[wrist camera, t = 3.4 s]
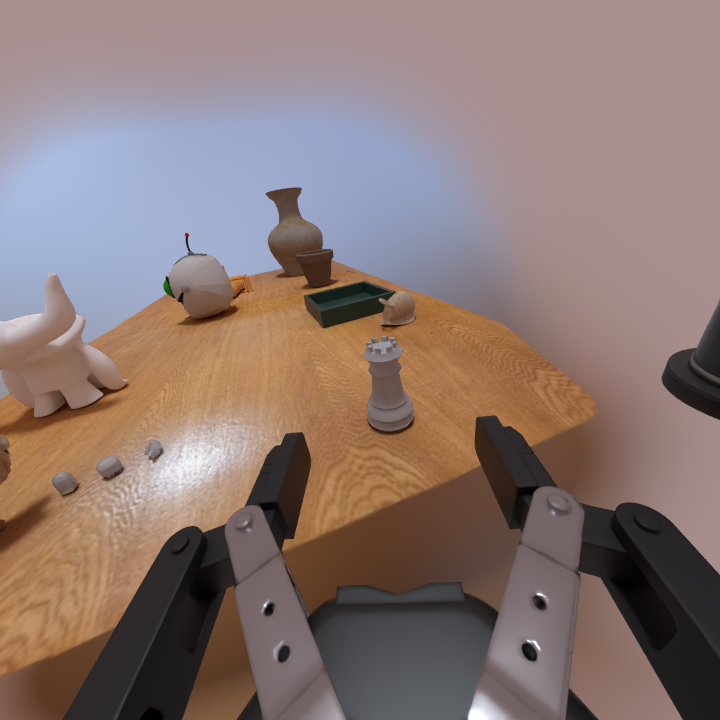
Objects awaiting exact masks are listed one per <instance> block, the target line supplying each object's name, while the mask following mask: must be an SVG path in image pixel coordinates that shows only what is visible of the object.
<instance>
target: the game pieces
mask: <svg viewBox="0 0 720 720" xmlns="http://www.w3.org/2000/svg"><path fill="white" fill-rule="evenodd" d="M160 450H162V446H161V444H160V442H159V441H157V440H154V441H151V442H149V443H148V444H147V447H146V451H145V453H144V454H145V455H149V457H150V458H151V459H154V457H155V456H157V455H158V454H159V453H160ZM121 466H122V463H121V462H120V461H119V460H118V459H117V457H112V456H111V457H107V458H104V459H102V460H101V461H100V462H99V463H98V464H97V467H96V470H97V471H98V472H99V474H100V475H101V476H102V477H108V479H109V478H110V477H111V475H112V476H113V477H114V473H116V474H118V472H119V471H121V470H120V469H121ZM117 471H118V472H117ZM52 482H53V485H54V487H55V488H56V489H57V490H58V491H59V492H60V494H61V495H65V494H67V493H70V492H72V491H73V490H74V489H75V488H76V486H77V485H78V484H79V483H78V482H77V481H76V480H75V478H74V477H73V476H72V475H71V474H70V473H68V472H61V473H58V474H56V475H55V477H54V478H53V479H52Z"/></svg>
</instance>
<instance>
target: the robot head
mask: <svg viewBox="0 0 720 720" xmlns="http://www.w3.org/2000/svg"><path fill="white" fill-rule="evenodd" d="M185 236H186V245H187V248H188V250H189V252H188V256H189V257H187V256H185V257H186V258H185V257H183V258H181V259H179V260H178V261H177V262H176V263H175V265H174V266H173V268H172V270H171V272H170V273H169V278H168V277H166V280H165V282H164V284H163V286H164V290H165V292H166V293H167V294H168V295H170V296H172V297H173V298H176V299H177V301H178V302H181V303H182V304H183V305H184V308H185V310H186V311H187V312H188V313H189V315H190V316H192V317H193V318H200V319H201V318H206V317H210V316H214V315H216V314H218V313H220V312H222V311H223V310H225V309H227V308H229V306H230V304H231V301H232V299H233V296H234V292H233V288H232V285H231V282H230V279H229V277H228V276H227V273H226V272H225V270H224V269H223V267H222V266H221V265H220V263H219V262H218V260H217V259H216V258H214V257H213V256H209V255H207V254H194V253H193V252H191V251H190V249H189V246H188V236H189V234H188V233H185ZM190 255H191V256H190Z"/></svg>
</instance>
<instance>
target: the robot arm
mask: <svg viewBox="0 0 720 720" xmlns="http://www.w3.org/2000/svg"><path fill="white" fill-rule="evenodd" d="M688 366H689V368H690V370H691V371H692V372H693V373H694V374H695V375H696V376H698V377H699V378H701V379H702V380H704V381H706V382H708V383H710V384H712V385H714V386H716V387H718V388H720V300H719V302H718V305H717V307H716V309H715V311H714V313H713V315H712V317H711V320H710V321H709V324H708V325H707V327H706V329H705V332H704V334H703V336H702V338H701V340H700V343H699V344H698V346H697V349H696V351H695V352H694V353H693V354H692V356H691V358H690V360H689V362H688ZM475 449H476V453H477V456H478V459H479V461H480V463H481V465H482V468H483V470H484V472H485V474H486V476H487V479H488V481H489V483H490V485H491V488H492V490H493V492H494V495H495V497H496V499H497V501H498V504H499V506H500V508H501V510H502V512H503V515H504V517H505V519H506V522H507V524H508V526H509V528H510V529H520V530H521V532H522V536H521V540H520V542H519V545H518V548H517V551H516V554H515V558H514V561H513V565H512V568H511V572H510V575H509V579H508V582H507V586H506V589H505V593H504V596H503V600H502V603H501V607H500V610H499V612H498V611H496V610H495V609H494V608H493V607H491V606H490V605H488V604H487V603H486V602H484V601H482V600H481V599H479V598H477V597H475V596H472V595H470V594H467V593H464V592H463V588H462V585H461V582H450V583H449V582H447V583H428V584H426V585H423V586H420V587H417V588H415V589H412V590H409V591H406V592H404V593H400V594H396V593H392V592H389V591H385V590H382V589H378V588H375V587H371V586H368V585H352V586H337V594H336V595H337V596H336V597H334V598H332V599H330V600H328V601H326V602H324V603H323V604H322V605H320V606H319V607H318V608H317V609H315V610H314V611H313V612H312V613H311V614H309V611H308V609H307V607H306V605H305V603H304V600H303V598H302V596H301V594H300V591H299V589H298V587H297V584H296V582H295V580H294V577H293V575H292V572H291V570H290V568H289V566H288V563H287V561H286V558H285V556H284V553H283V551H282V547H283V543H284V539H294V535H295V531H296V527H297V523H298V518H299V514H300V510H301V506H302V502H303V497H304V493H305V489H306V485H307V481H308V477H309V472H310V468H311V457H310V453H309V450H308V447H307V444H306V441H305V437H304V434H303V433H302V432H299V433H287V434H285V436H284V438H283V441H282V444H281V445H278V446H275V447H274V448H273V449H272V450H271V451H270V452H269V454H268V455H267V457H266V459H265V462H264V464H263V466H262V469H261V471H260V474H259V475H258V478H257V480H256V482H255V485H254V487H253V489H252V492H251V494H250V496H249V499H248V501H247V503H246V505H245V507H243V508H241V509H239V510H238V511H237V512H235V513H234V514H233V515H232V516H231V518H230V519H229V521H228V522H227V524H225V525H223V526H220V527H217V528H215V529H212V530H209V531H207V532H204V533H203V532H202V531H201V530H200V528H198V527H196V526H190V527H186V528H183V529H181V530H180V531H178V532H176V533H175V534H174V535H173V536H171V537H170V538H169V539H168V540H167V542H166V543H165V544H164V546H163V547H162V549H161V551H160V552H159V554H158V556H157V557H156V559H155V561H154V563H153V564H152V566H151V568H150V570H149V571H148V573H147V575H146V576H145V578H144V580H143V582H142V583H141V585H140V587H139V589H138V590H137V592H136V594H135V595H134V597H133V599H132V601H131V602H130V604H129V606H128V608H127V609H126V611H125V613H124V614H123V616H122V618H121V620H120V621H119V623H118V625H117V627H116V628H115V630H114V632H113V633H112V635H111V637H110V639H109V640H108V642H107V644H106V646H105V647H104V649H103V651H102V652H101V654H100V656H99V658H98V660H97V661H96V663H95V665H94V666H93V668H92V670H91V672H90V673H89V675H88V677H87V678H86V680H85V682H84V684H83V686H82V687H81V689H80V691H79V692H78V694H77V696H76V698H75V699H74V701H73V703H72V704H71V706H70V708H69V710H68V711H67V713H66V715H65V717H64V718H63V720H182V718H183V715H184V712H185V709H186V706H187V703H188V700H189V697H190V694H191V691H192V689H193V686H194V683H195V680H196V677H197V674H198V671H199V668H200V665H201V662H202V659H203V656H204V653H205V650H206V648H207V644H208V642H209V639H210V635H211V633H212V630H213V627H214V624H215V621H216V618H217V615H218V612H219V609H220V606H221V603H222V600H223V598H224V594H225V592H226V589H227V588H228V587H231V586H233V585H235V586H234V593H235V598H236V602H237V606H238V611H239V615H240V620H241V624H242V628H243V633H244V637H245V641H246V646H247V650H248V655H249V659H250V663H251V668H252V672H253V676H254V680H255V685H256V690H257V691H256V692H255V694H254V695H253V697H252V698H251V700H250V701H249V702H248V704H247V706H246V707H245V708H244V710H243V711H242V713H241V714H240V716H239V717H238V718H237V720H598V718H597V717H596V716H595V715H594V714H593V713H592V712H591V711H590V710H589V709H588V708H587V706H586V705H585V704H584V703H583V702H582V701H581V700H580V699H579V698H578V697H577V696H576V695H575V693H573V691H572V690H571V689H570V688H569V682H570V672H571V664H572V654H573V645H574V636H575V627H576V617H577V607H578V599H579V589H580V574H579V573H578V571H580V572H583V573H587V574H591V575H594V576H597V577H601V579H602V581H603V583H604V584H605V586H606V588H607V590H608V591H609V593H610V595H611V596H612V598H613V600H614V602H615V603H616V605H617V607H618V609H619V610H620V612H621V614H622V615H623V617H624V619H625V621H626V622H627V624H628V626H629V628H630V629H631V631H632V633H633V634H634V636H635V638H636V640H637V641H638V643H639V645H640V646H641V648H642V650H643V652H644V653H645V655H646V656H647V659H648V660H649V662H650V664H651V665H652V667H653V669H654V671H655V672H656V674H657V676H658V678H659V679H660V681H661V683H662V685H663V686H664V688H665V690H666V691H667V693H668V695H669V696H670V698H671V700H672V702H673V703H674V705H675V707H676V709H677V710H678V712H679V714H680V716H681V717H682V719H683V720H720V575H719V573H718V572H717V571H716V570H715V569H714V568H713V567H712V566H711V565H710V564H709V563H708V561H707V560H706V559H705V558H704V557H703V556H702V555H701V554H700V553H699V552H698V550H697V549H696V548H695V547H694V546H693V545H692V544H691V543H690V542H689V541H688V540H687V538H685V536H684V535H683V534H682V533H681V532H680V531H679V530H678V529H677V527H676V526H675V525H674V524H673V523H672V522H671V521H670V520H669V519H667V518H666V517H665V516H663V515H662V514H661V513H659V512H657V511H656V510H654V509H652V508H650V507H647V506H644V505H641V504H637V503H629V502H628V503H622V504H620V505H618V506H617V508H616V510H615V511H612V510H607V509H603V508H598V507H593V506H589V505H585V504H582V503H580V502H579V501H578V500H577V499H576V498H575V497H574V496H572V495H571V494H570V493H568V492H566V491H564V490H562V489H559V488H558V487H557V486H556V484H555V483H554V481H553V480H552V478H551V477H550V475H549V474H548V472H547V471H546V470H545V468H544V467H543V465H542V464H541V462H540V461H539V460H538V458H537V457H536V455H534V452H533V451H532V449H531V448H530V446H528V443H527V442H526V441H525V439H524V438H523V436H522V435H521V434H520V433H519V432H517V431H516V430H515V429H513V428H512V427H511V426H508V427H503V426H502V424H501V423H500V421H499V420H498V418H497V417H496V416H484V417H477V419H476V430H475Z"/></svg>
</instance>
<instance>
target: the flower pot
mask: <svg viewBox="0 0 720 720" xmlns="http://www.w3.org/2000/svg"><path fill="white" fill-rule="evenodd" d="M295 257H296V261H297V263H298V264H300V266H301V268H302V270H303V273H304V275H305V277H306V279H307V281H308V283H309V285H310V286H311V287H322V286H326V285H328V284H329V283H330V277H331V259H332V258H333V250H332V249H322V250H315V251H309V252H304V253H300V254H297V255H295Z"/></svg>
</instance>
